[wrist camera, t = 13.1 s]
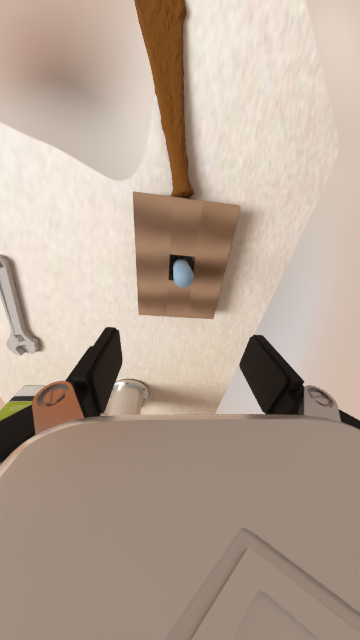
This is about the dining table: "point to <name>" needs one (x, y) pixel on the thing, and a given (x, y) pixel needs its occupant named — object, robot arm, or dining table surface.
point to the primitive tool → (168, 79)
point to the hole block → (181, 252)
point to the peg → (182, 272)
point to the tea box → (20, 400)
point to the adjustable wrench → (14, 313)
